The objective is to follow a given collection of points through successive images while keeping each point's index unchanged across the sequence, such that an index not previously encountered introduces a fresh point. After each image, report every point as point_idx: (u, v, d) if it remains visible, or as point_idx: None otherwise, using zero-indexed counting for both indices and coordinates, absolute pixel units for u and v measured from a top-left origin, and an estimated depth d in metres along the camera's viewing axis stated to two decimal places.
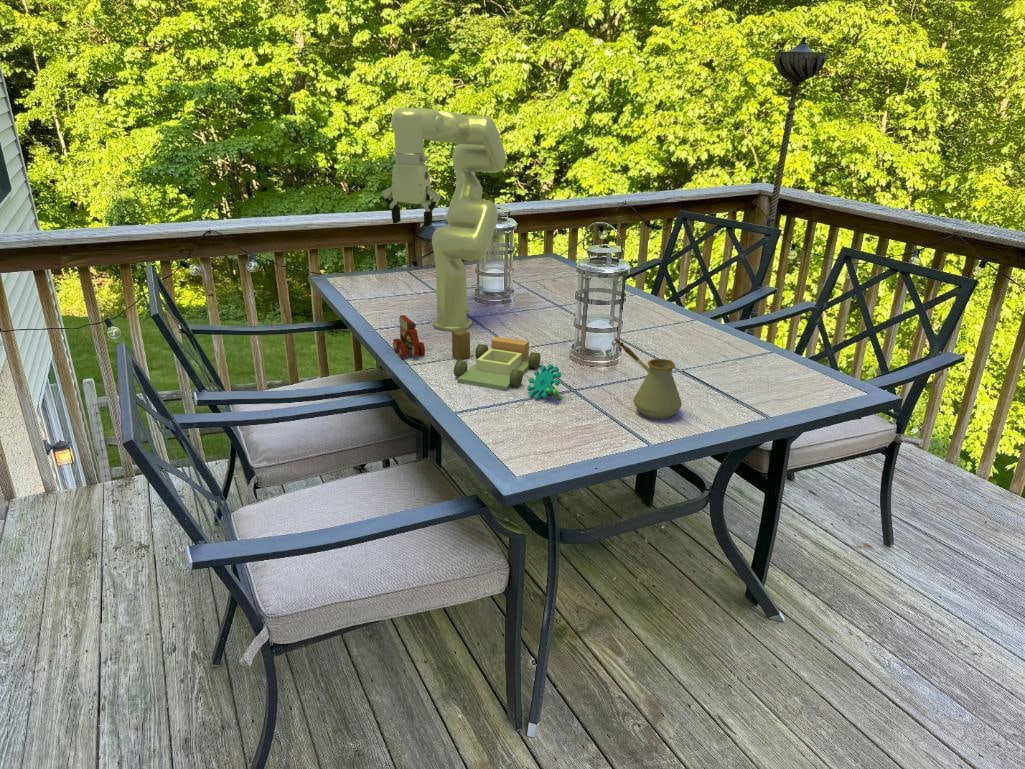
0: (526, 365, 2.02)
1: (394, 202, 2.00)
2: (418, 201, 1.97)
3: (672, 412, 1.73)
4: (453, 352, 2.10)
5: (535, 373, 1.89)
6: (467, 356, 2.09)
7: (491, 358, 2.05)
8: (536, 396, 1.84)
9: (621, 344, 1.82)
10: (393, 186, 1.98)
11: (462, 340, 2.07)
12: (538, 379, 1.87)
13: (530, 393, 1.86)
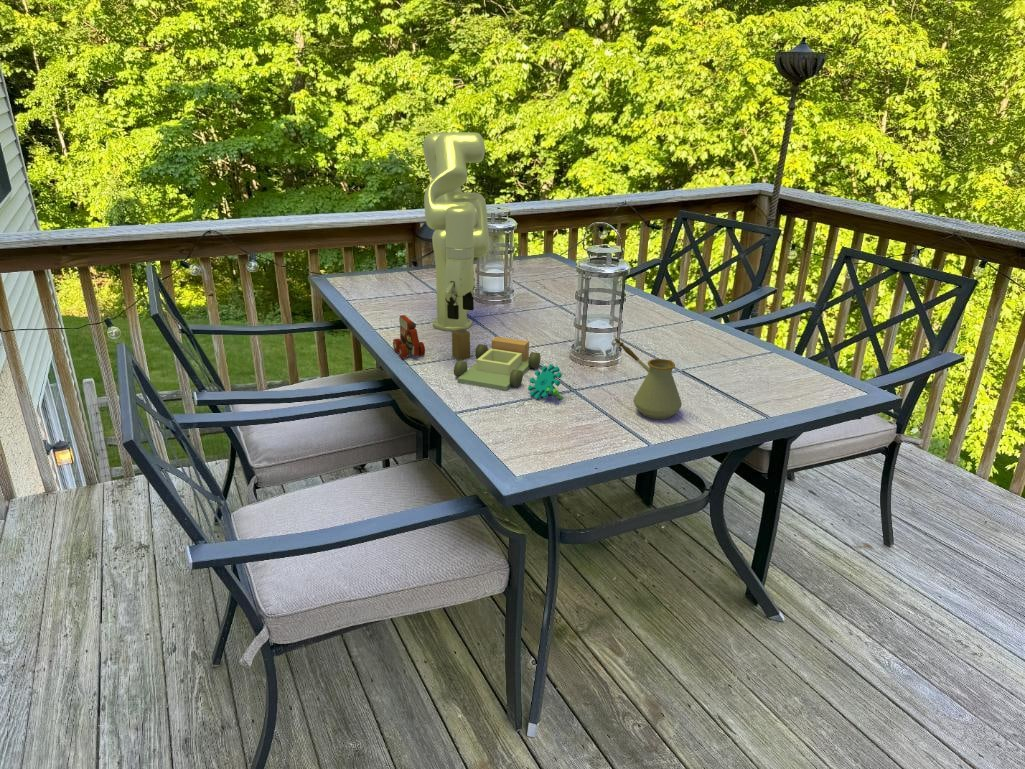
0: (526, 365, 2.02)
1: (458, 298, 1.98)
2: (471, 288, 2.05)
3: (672, 412, 1.73)
4: (453, 352, 2.10)
5: (536, 373, 1.89)
6: (467, 356, 2.09)
7: (491, 358, 2.05)
8: (536, 396, 1.84)
9: (621, 344, 1.82)
10: (461, 282, 1.97)
11: (462, 340, 2.07)
12: (539, 379, 1.87)
13: (531, 393, 1.86)
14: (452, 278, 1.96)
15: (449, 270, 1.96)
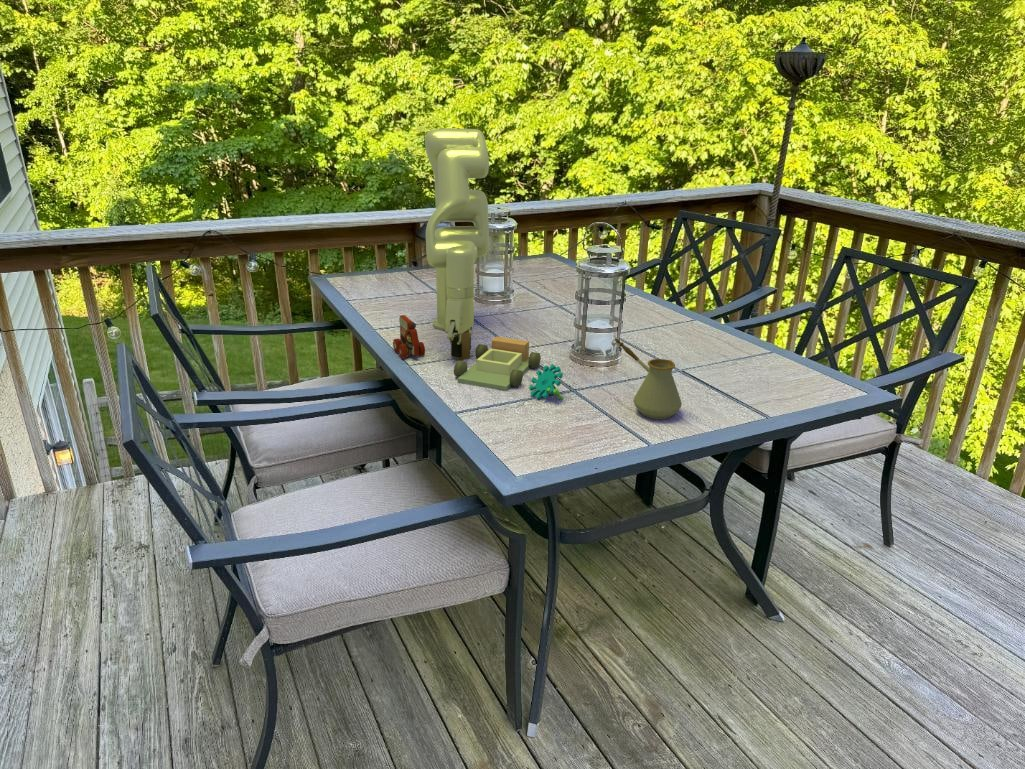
0: (526, 365, 2.02)
1: (460, 337, 2.05)
2: (472, 325, 2.09)
3: (672, 412, 1.73)
4: None
5: (537, 373, 1.89)
6: (467, 356, 2.09)
7: (491, 358, 2.05)
8: (537, 396, 1.84)
9: (621, 344, 1.82)
10: (461, 321, 2.01)
11: (462, 340, 2.07)
12: (540, 379, 1.87)
13: (531, 393, 1.86)
14: (453, 316, 2.01)
15: (450, 309, 2.01)
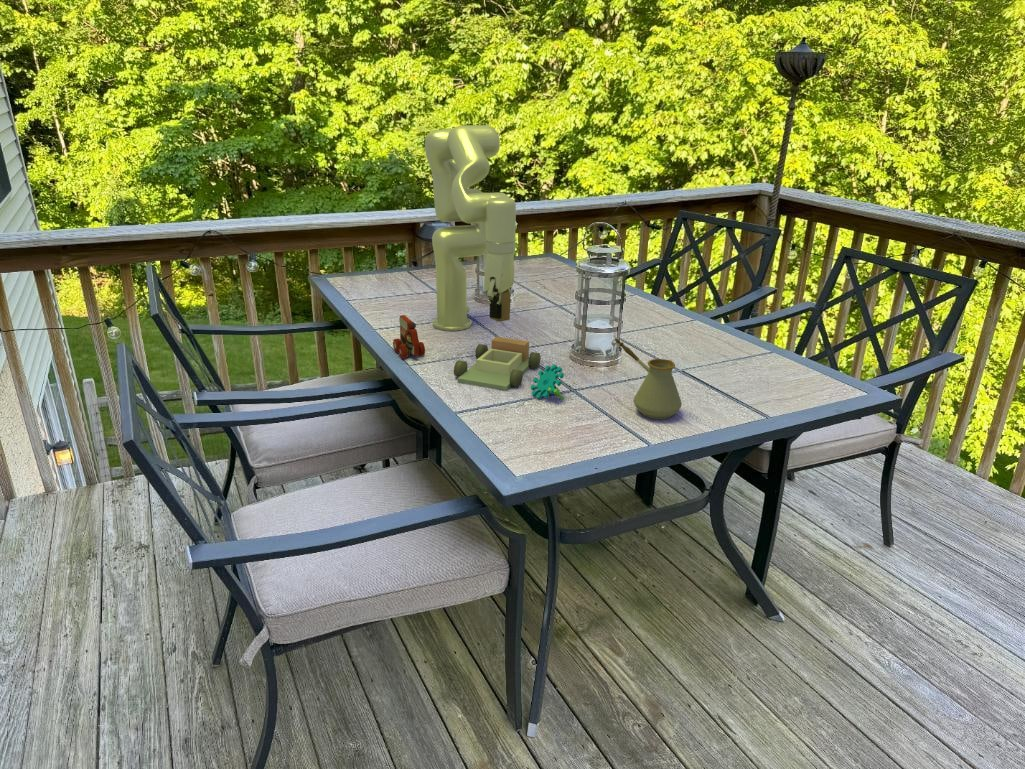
0: (526, 365, 2.02)
1: (500, 296, 1.90)
2: (511, 284, 1.94)
3: (672, 412, 1.73)
4: None
5: (539, 373, 1.89)
6: (507, 318, 1.95)
7: (491, 358, 2.05)
8: (538, 395, 1.84)
9: (621, 344, 1.82)
10: (502, 278, 1.87)
11: (502, 300, 1.92)
12: (541, 379, 1.87)
13: (533, 392, 1.86)
14: (493, 273, 1.86)
15: (490, 265, 1.86)
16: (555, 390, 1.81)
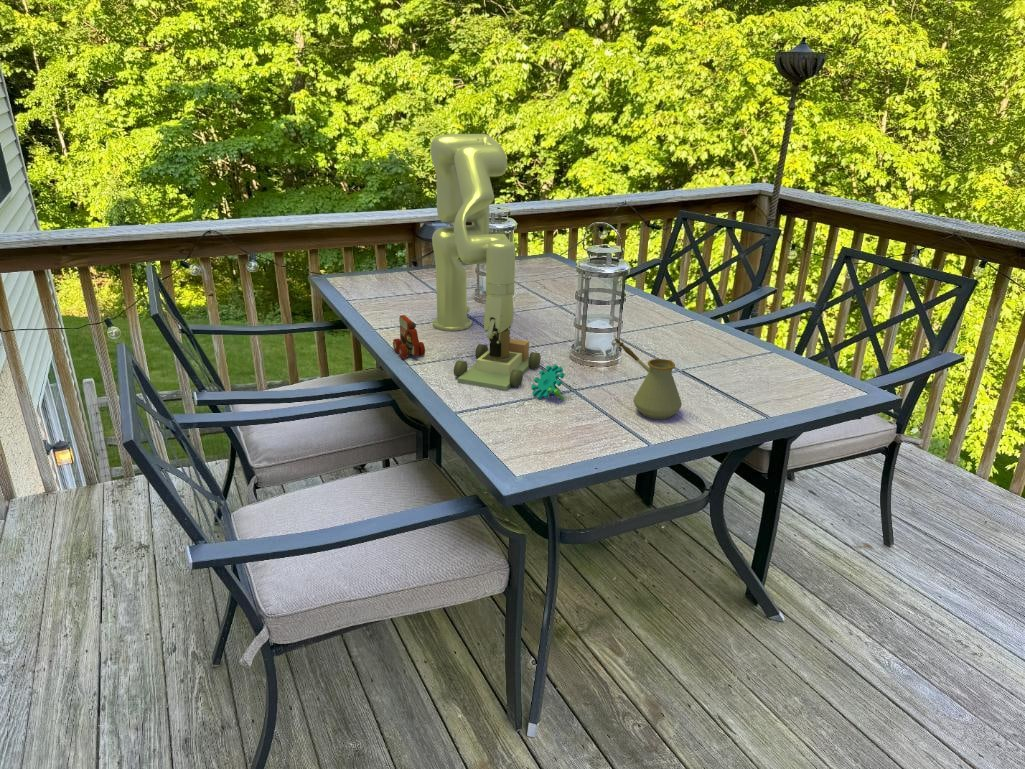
0: (526, 365, 2.02)
1: (500, 335, 1.94)
2: (511, 323, 1.99)
3: (672, 412, 1.73)
4: None
5: (540, 372, 1.89)
6: (506, 356, 1.99)
7: (491, 358, 2.05)
8: (538, 395, 1.84)
9: (621, 344, 1.82)
10: (501, 318, 1.91)
11: (502, 339, 1.96)
12: (542, 379, 1.87)
13: (533, 392, 1.86)
14: (493, 314, 1.90)
15: (489, 306, 1.90)
16: (555, 390, 1.81)
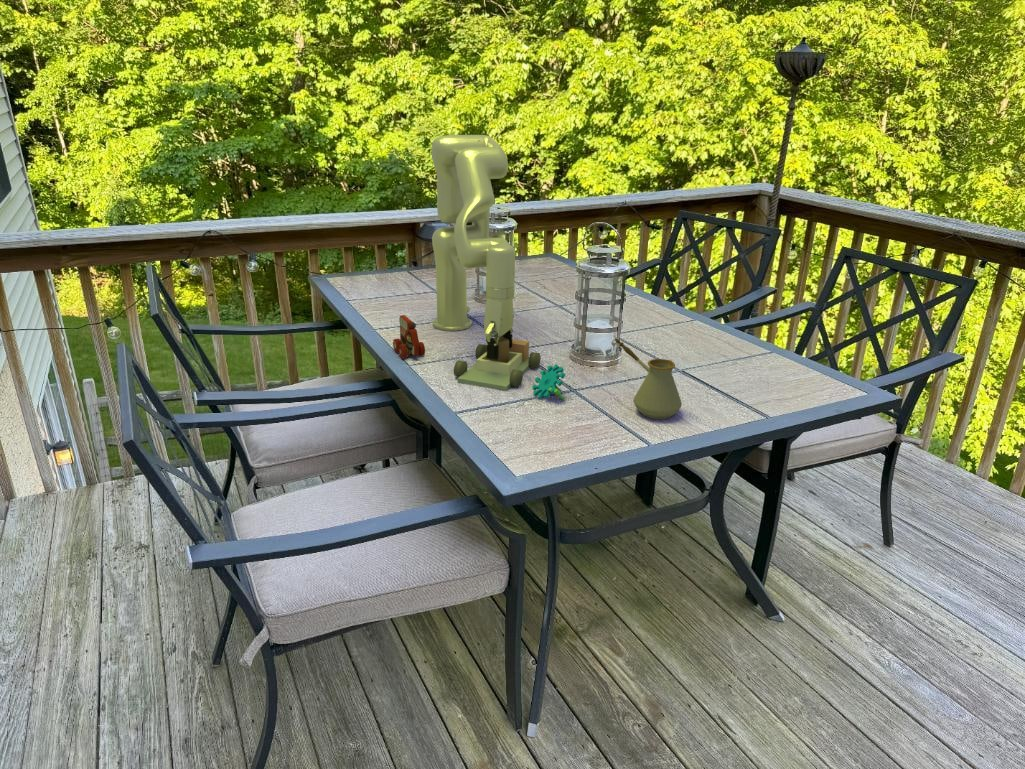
0: (526, 365, 2.02)
1: (498, 338, 1.93)
2: (511, 326, 1.99)
3: (672, 412, 1.73)
4: None
5: (541, 372, 1.89)
6: None
7: None
8: (539, 395, 1.84)
9: (621, 344, 1.82)
10: (501, 322, 1.91)
11: (501, 348, 1.97)
12: (543, 378, 1.87)
13: (534, 392, 1.86)
14: (493, 318, 1.91)
15: (490, 310, 1.91)
16: (555, 390, 1.81)
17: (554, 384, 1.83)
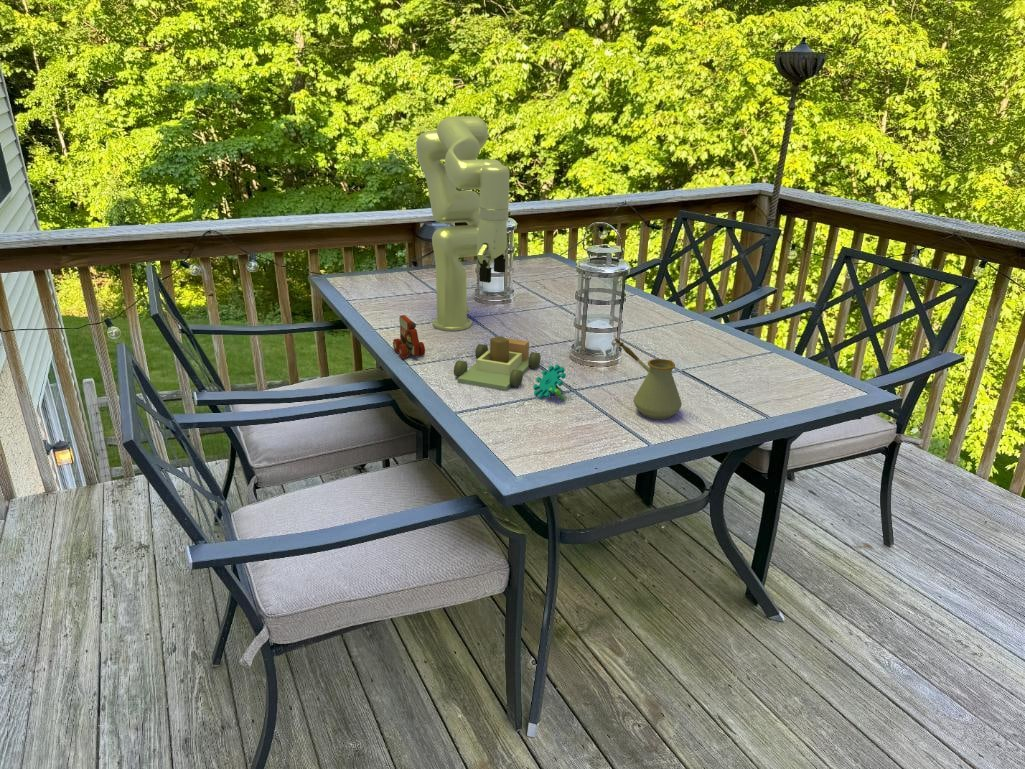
0: (526, 365, 2.02)
1: (490, 261, 1.93)
2: (504, 250, 1.98)
3: (672, 412, 1.73)
4: None
5: (543, 372, 1.89)
6: None
7: None
8: (539, 395, 1.84)
9: (621, 344, 1.82)
10: (494, 244, 1.91)
11: (501, 348, 1.97)
12: (544, 378, 1.87)
13: (535, 392, 1.87)
14: (486, 239, 1.90)
15: (483, 231, 1.90)
16: (556, 390, 1.81)
17: (555, 384, 1.83)
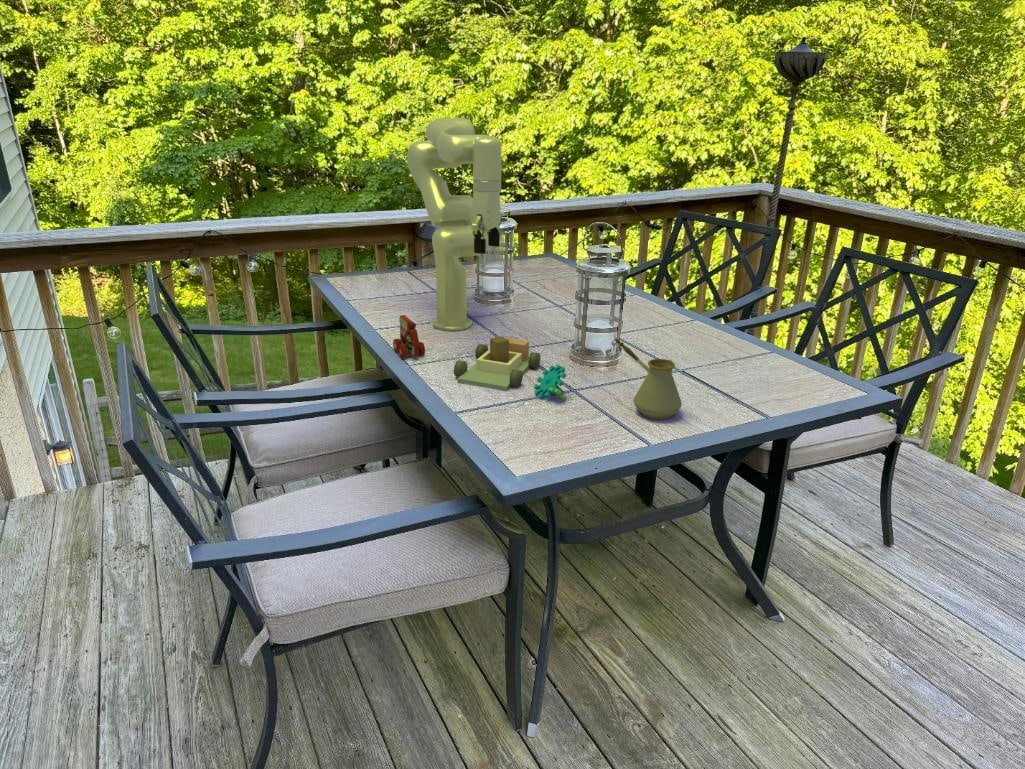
0: (526, 365, 2.02)
1: (485, 232, 1.96)
2: (498, 223, 2.02)
3: (672, 412, 1.73)
4: None
5: (544, 372, 1.89)
6: None
7: None
8: (540, 395, 1.84)
9: (621, 344, 1.82)
10: (488, 215, 1.95)
11: (501, 348, 1.97)
12: (545, 378, 1.87)
13: (535, 392, 1.87)
14: (479, 210, 1.94)
15: (476, 203, 1.94)
16: (556, 390, 1.81)
17: (555, 384, 1.83)
